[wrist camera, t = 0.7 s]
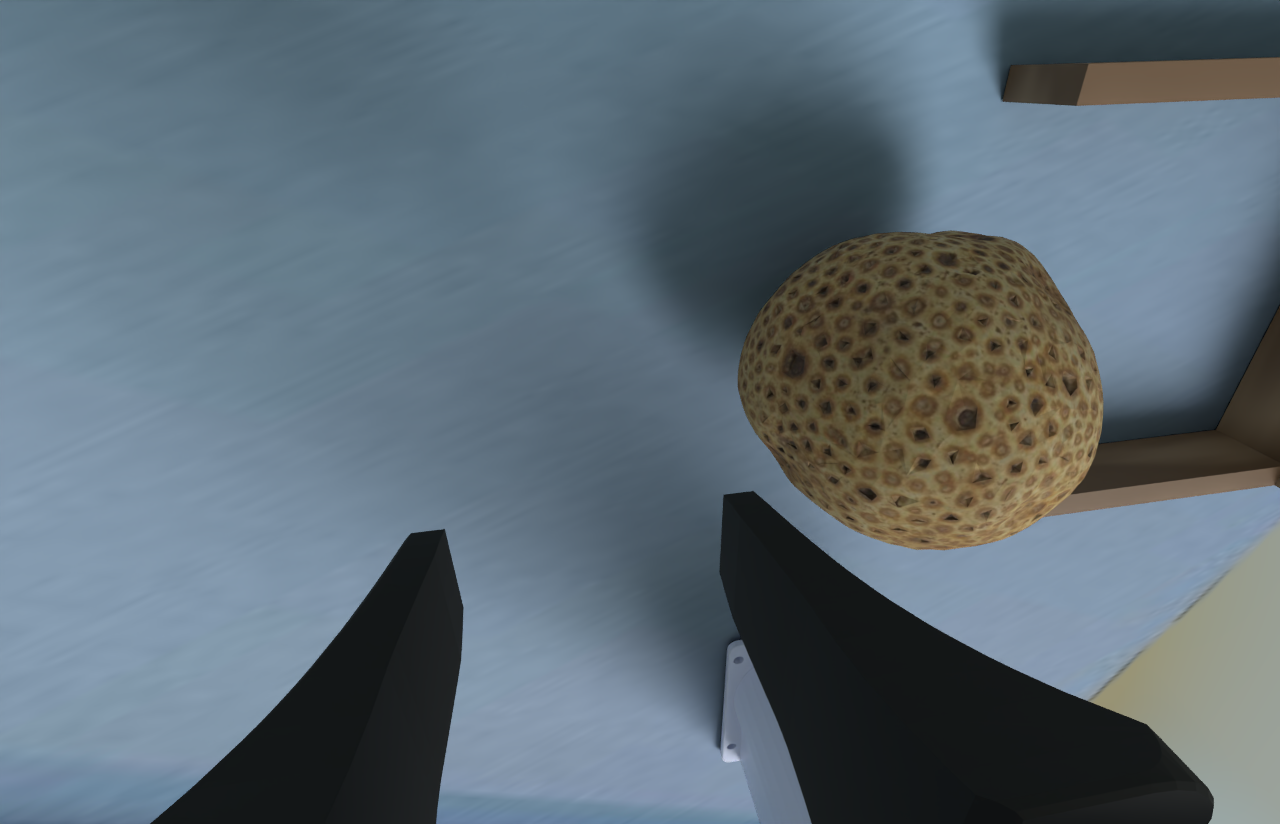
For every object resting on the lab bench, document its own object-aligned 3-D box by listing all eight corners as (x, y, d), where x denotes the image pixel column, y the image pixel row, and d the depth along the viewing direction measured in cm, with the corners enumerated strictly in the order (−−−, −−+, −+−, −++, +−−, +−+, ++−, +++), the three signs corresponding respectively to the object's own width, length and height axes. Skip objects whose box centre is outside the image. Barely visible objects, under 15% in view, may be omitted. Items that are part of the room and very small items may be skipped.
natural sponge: (675, 412, 23) (765, 616, 14) (750, 165, 19) (936, 240, 10) (881, 441, 25) (1067, 632, 16) (986, 226, 21) (1301, 329, 13)
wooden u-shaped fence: (1224, 445, 29) (1348, 511, 24) (910, 485, 27) (985, 564, 22) (1433, 52, 21) (1672, 46, 16) (1010, 65, 19) (1156, 62, 14)
